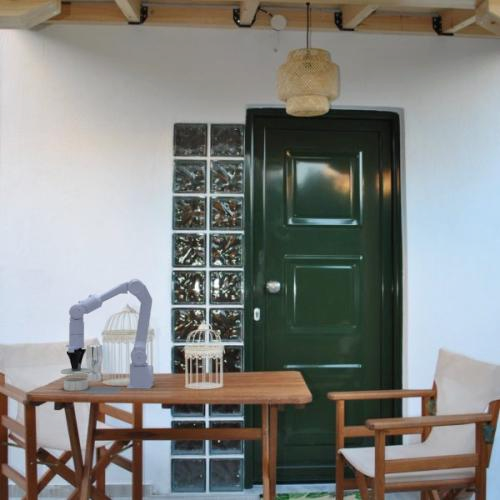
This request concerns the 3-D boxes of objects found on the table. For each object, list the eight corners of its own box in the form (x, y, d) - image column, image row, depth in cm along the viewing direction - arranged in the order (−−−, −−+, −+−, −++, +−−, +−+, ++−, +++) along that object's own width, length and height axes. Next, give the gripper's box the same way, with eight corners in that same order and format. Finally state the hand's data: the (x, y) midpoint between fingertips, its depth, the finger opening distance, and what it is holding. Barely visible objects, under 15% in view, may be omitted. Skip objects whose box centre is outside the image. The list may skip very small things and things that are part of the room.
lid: (95, 369, 265) (95, 361, 265) (86, 374, 253) (86, 365, 253) (66, 369, 266) (66, 360, 266) (56, 374, 254) (56, 365, 254)
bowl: (90, 387, 264) (90, 377, 264) (83, 391, 255) (83, 381, 255) (68, 387, 264) (68, 377, 264) (61, 391, 255) (61, 381, 255)
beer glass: (98, 382, 274) (98, 346, 274) (83, 381, 275) (83, 346, 276) (105, 379, 281) (105, 344, 281) (90, 378, 282) (90, 344, 283)
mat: (123, 388, 262) (123, 387, 262) (115, 394, 249) (115, 393, 249) (92, 387, 263) (92, 386, 263) (82, 394, 250) (82, 393, 250)
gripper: (72, 332, 267) (72, 365, 267) (60, 336, 253) (60, 370, 252) (89, 332, 267) (89, 365, 266) (78, 336, 252) (78, 371, 252)
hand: (76, 368), depth 259 cm, fingers closed on lid, 4 cm apart
